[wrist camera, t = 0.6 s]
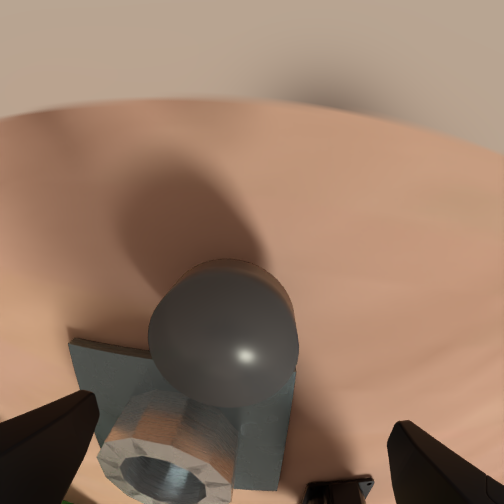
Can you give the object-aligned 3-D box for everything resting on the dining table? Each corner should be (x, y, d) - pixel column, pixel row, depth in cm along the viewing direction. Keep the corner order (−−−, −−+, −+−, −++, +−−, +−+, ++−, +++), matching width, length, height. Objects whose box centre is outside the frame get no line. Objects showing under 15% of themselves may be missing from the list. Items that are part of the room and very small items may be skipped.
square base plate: (276, 482, 23) (276, 534, 17) (110, 457, 23) (88, 500, 18) (295, 363, 20) (301, 426, 14) (74, 337, 20) (29, 379, 14)
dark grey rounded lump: (286, 355, 19) (290, 411, 14) (181, 347, 20) (156, 398, 14) (295, 250, 18) (306, 282, 13) (177, 245, 18) (142, 272, 13)
